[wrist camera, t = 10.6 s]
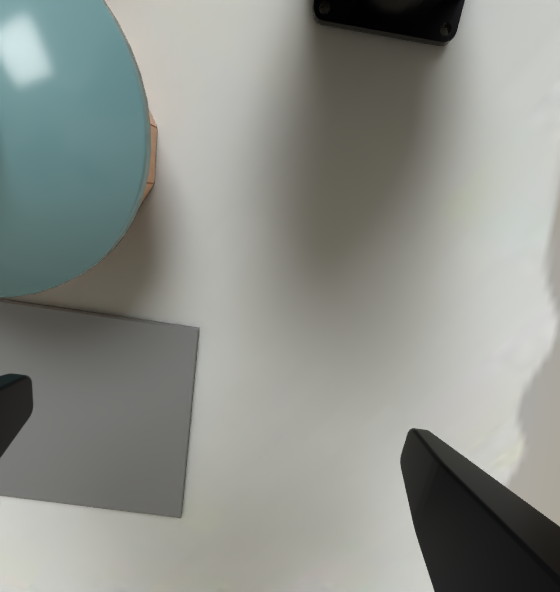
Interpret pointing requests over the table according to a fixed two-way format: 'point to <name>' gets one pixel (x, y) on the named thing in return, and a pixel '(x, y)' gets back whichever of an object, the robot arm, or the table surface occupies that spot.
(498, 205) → the table surface
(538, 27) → the table surface
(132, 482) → the mat
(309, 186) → the table surface
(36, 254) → the lid
